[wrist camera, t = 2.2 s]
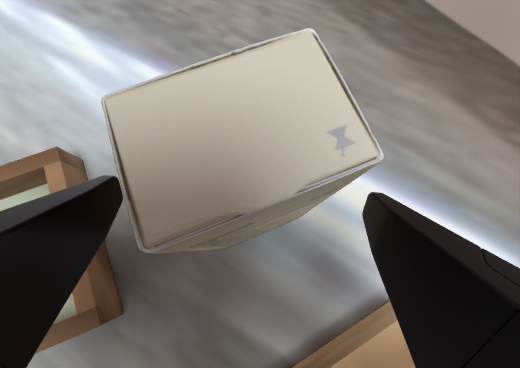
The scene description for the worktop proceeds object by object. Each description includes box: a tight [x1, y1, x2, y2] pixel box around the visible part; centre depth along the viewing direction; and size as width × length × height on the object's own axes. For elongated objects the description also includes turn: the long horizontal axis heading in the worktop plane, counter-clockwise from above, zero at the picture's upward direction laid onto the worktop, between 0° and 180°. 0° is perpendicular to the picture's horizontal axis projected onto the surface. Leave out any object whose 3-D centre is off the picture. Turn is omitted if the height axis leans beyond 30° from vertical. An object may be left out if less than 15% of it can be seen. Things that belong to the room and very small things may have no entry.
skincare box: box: [101, 28, 384, 254], centre depth 12 cm, size 6×4×12 cm
